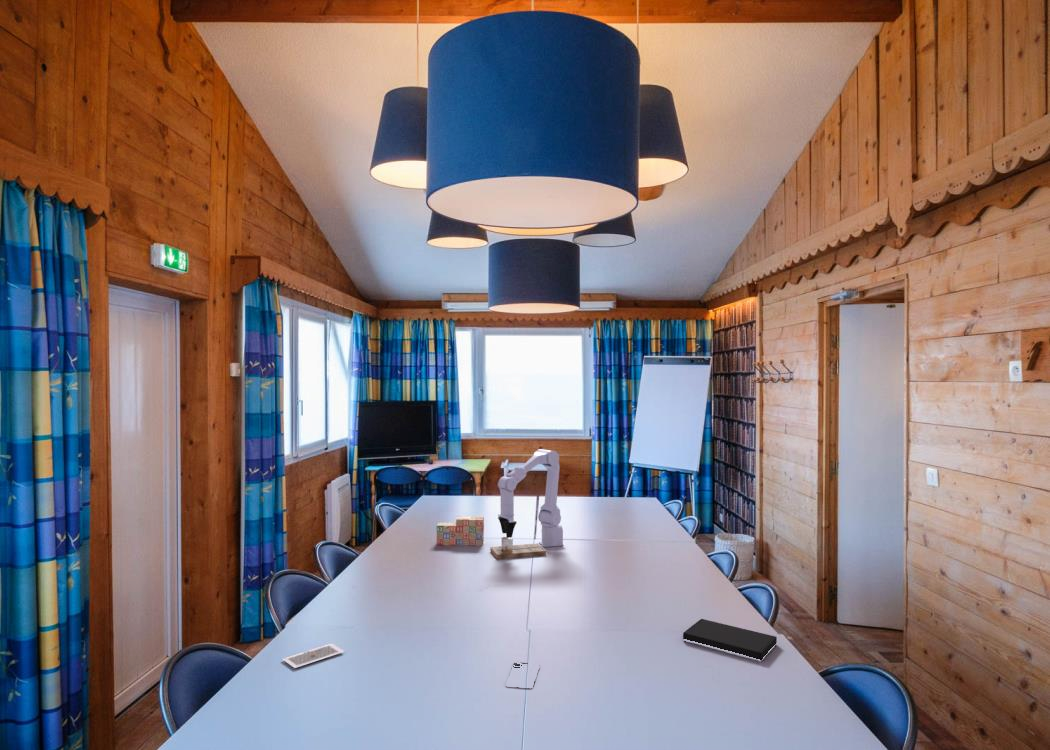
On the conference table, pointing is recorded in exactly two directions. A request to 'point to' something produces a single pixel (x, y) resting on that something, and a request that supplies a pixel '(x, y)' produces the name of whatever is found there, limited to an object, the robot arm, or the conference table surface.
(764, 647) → the external hard drive
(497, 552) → the fader console
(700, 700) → the conference table surface
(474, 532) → the stack of blocks
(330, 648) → the touchpad
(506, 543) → the fader tab
